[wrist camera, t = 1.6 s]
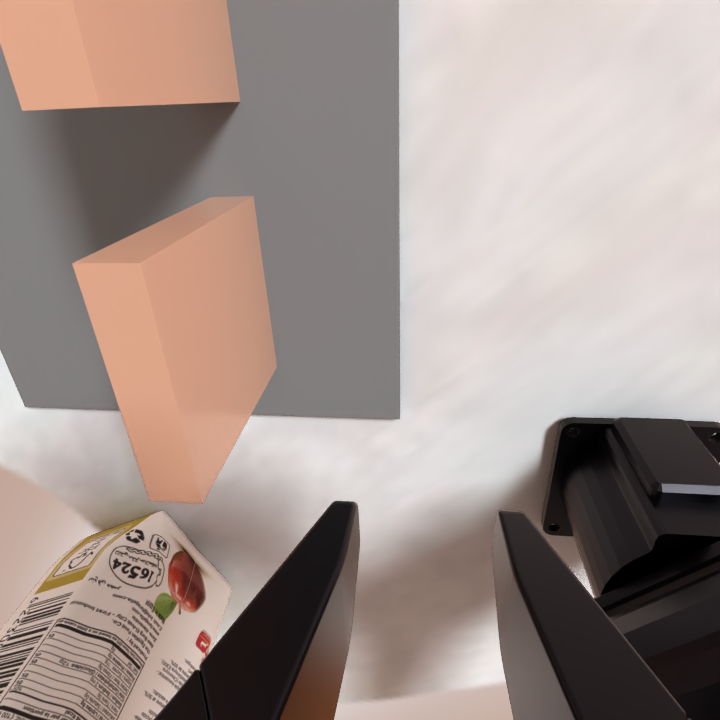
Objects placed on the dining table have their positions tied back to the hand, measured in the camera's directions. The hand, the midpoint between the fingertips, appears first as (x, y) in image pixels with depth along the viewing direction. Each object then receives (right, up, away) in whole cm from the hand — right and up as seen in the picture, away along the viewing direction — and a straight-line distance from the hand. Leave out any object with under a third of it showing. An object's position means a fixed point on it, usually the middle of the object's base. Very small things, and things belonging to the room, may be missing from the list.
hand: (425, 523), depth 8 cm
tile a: (-6, +6, +11) cm, 14 cm away
